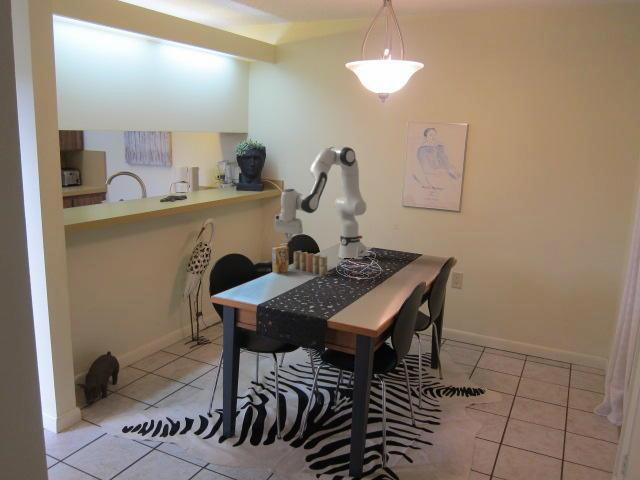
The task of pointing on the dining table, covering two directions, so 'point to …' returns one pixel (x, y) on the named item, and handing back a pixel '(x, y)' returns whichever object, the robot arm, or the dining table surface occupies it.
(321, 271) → the tile
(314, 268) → the tile
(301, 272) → the slate board
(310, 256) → the tile
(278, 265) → the candy box
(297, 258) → the tile
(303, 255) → the tile
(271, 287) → the dining table surface
